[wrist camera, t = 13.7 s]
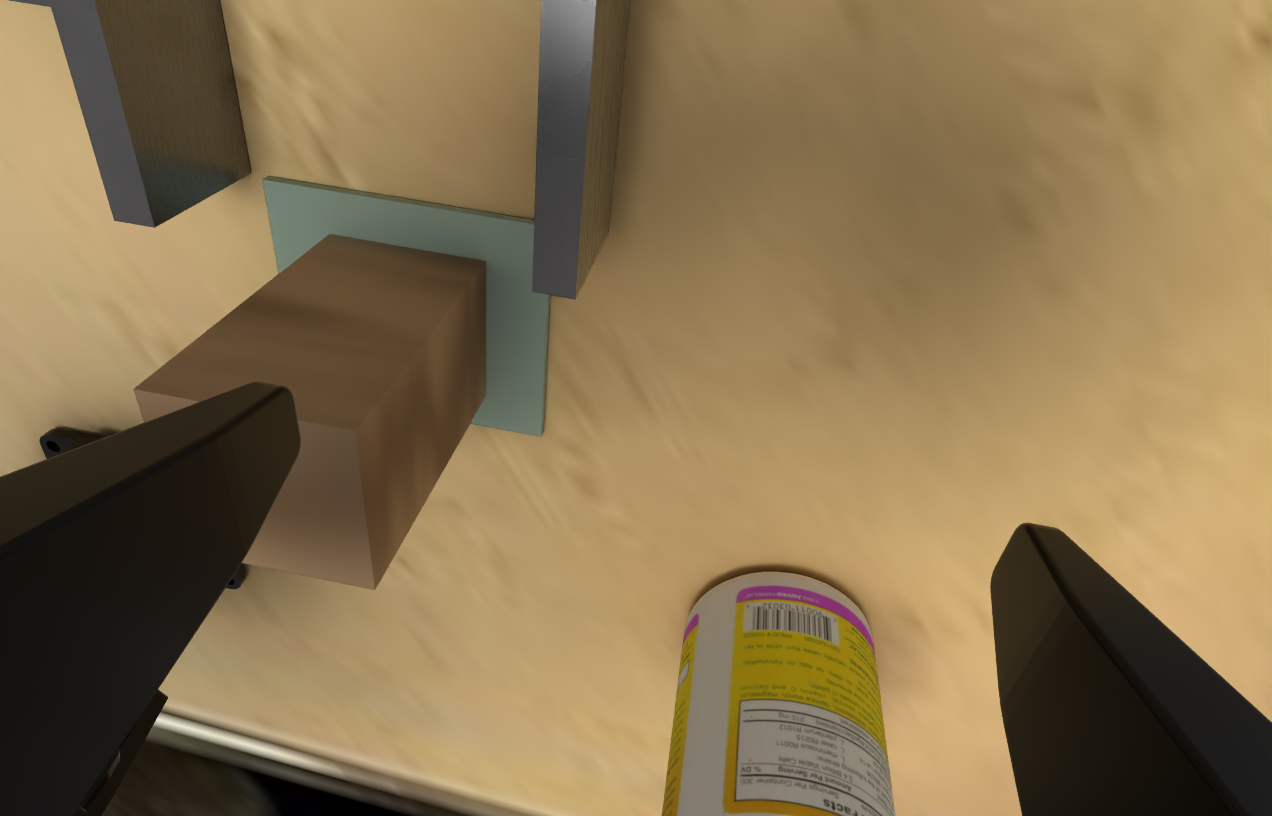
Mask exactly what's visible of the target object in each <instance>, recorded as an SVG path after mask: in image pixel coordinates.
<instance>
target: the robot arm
mask: <svg viewBox="0 0 1272 816" xmlns="http://www.w3.org/2000/svg"><path fill="white" fill-rule="evenodd" d="M40 444H41V447H42V449H43V451H44V454H45V456H46V458H47V459H46V460H44V461H41V462H38V463H36V464H33V465H30V466H28V467H25V468H22V469H20V470H17V471H14V472H12V473H9V474H6V475H4V476H1V477H0V816H101V815H102V813H103V812H104V810H105V809H106V807H107V806H108V804H109V802H110V801H111V799H112V797H113V796H114V794H115V792H116V790H117V788H118V787H119V785H120V783H121V781H122V780H123V778H124V776H125V774H126V772H127V771H128V769H129V767H130V765H131V764H132V762H133V760H134V758H135V756H136V755H137V753H138V751H139V749H140V747H141V746H142V744H143V742H144V740H145V739H146V737H147V735H148V733H149V731H150V730H151V728H152V726H153V724H154V722H155V721H156V719H157V717H158V715H159V714H160V712H161V710H162V708H163V706H164V705H165V703H166V701H167V699H168V696H166V695H165V694H164V693H162V692H161V691H160V690H158V688H159V687H160V685H161V684H162V682H163V681H164V679H165V678H166V676H167V675H168V673H169V672H170V670H171V669H172V667H173V666H174V664H175V663H176V661H177V660H178V658H179V657H180V655H181V654H182V652H183V651H184V649H185V648H186V646H187V645H188V643H189V642H190V640H191V639H192V637H193V636H194V634H195V633H196V631H197V630H198V628H199V627H200V625H201V624H202V622H203V621H204V619H205V618H206V616H207V615H208V613H209V612H210V610H211V609H212V607H213V606H214V604H215V603H216V601H217V600H218V598H219V597H220V595H221V594H222V592H223V591H224V589H225V588H229V589H237V588H239V587H240V586H241V584H242V583H243V582H244V581H245V579H246V573H245V569H244V565H243V563H242V562H243V560H244V558H245V557H246V555H247V554H248V552H249V550H250V548H251V546H252V545H253V543H254V541H255V539H256V537H257V535H258V533H259V531H260V529H261V527H262V526H263V524H264V522H265V520H266V518H267V516H268V514H269V512H270V510H271V508H272V506H273V504H274V502H275V500H276V498H277V496H278V494H279V492H280V490H281V489H282V487H283V485H284V483H285V481H286V479H287V477H288V475H289V473H290V471H291V469H292V467H293V465H294V463H295V461H296V459H297V457H298V454H299V451H300V446H301V435H300V430H299V424H298V419H297V413H296V408H295V402H294V397H293V394H292V392H291V391H290V389H289V388H287V387H286V386H283V385H277V384H272V383H266V382H260V381H256V382H252V383H249V384H246V385H243V386H241V387H238V388H236V389H233V390H230V391H228V392H225V393H222V394H220V395H217V396H214V397H212V398H209V399H206V400H204V401H201V402H198V403H196V404H193V405H190V406H188V407H185V408H182V409H180V410H177V411H174V412H172V413H169V414H166V415H164V416H161V417H158V418H156V419H153V420H150V421H148V422H145V423H142V424H140V425H137V426H134V427H132V428H129V429H126V430H124V431H121V432H118V433H116V434H113V435H110V436H108V437H105V438H102V437H96V436H91V435H86V434H81V433H75V432H70V431H65V430H60V429H52V430H49V431H48V432H47V433H46V434H44V435H43V436H42V437H41V438H40ZM990 588H991V602H992V615H993V627H994V639H995V652H996V664H997V676H998V688H999V697H1000V706H1001V711H1002V717H1003V723H1004V728H1005V733H1006V738H1007V743H1008V748H1009V753H1010V758H1011V763H1012V768H1013V772H1014V777H1015V782H1016V787H1017V792H1018V797H1019V802H1020V807H1021V812H1022V816H1272V722H1271V721H1270V720H1269V719H1267V718H1266V717H1265V716H1264V715H1263V714H1262V713H1261V712H1260V711H1259V710H1258V709H1256V708H1255V707H1254V706H1253V705H1252V704H1251V703H1250V702H1249V701H1248V700H1247V699H1246V698H1244V697H1243V696H1242V695H1241V694H1240V693H1239V692H1238V691H1237V690H1236V689H1235V688H1233V687H1232V686H1231V685H1230V684H1229V683H1228V682H1227V681H1226V680H1225V679H1224V678H1223V677H1221V676H1220V675H1219V674H1218V673H1217V672H1216V671H1215V670H1214V669H1213V668H1212V667H1210V666H1209V665H1208V664H1207V663H1206V662H1205V661H1204V660H1203V659H1202V658H1201V657H1200V656H1198V655H1197V654H1196V653H1195V652H1194V651H1193V650H1192V649H1191V648H1190V647H1189V646H1187V645H1186V644H1185V643H1184V642H1183V641H1182V640H1181V639H1180V638H1179V637H1178V636H1176V635H1175V634H1174V633H1173V632H1172V631H1171V630H1170V629H1169V628H1168V627H1167V626H1166V625H1164V624H1163V623H1162V622H1161V621H1160V620H1159V619H1158V618H1157V617H1156V616H1155V615H1153V614H1152V613H1151V612H1150V611H1149V610H1148V609H1147V608H1146V607H1145V606H1144V605H1143V604H1141V603H1140V602H1139V601H1138V600H1137V599H1136V598H1135V597H1134V596H1133V595H1132V594H1130V593H1129V592H1128V591H1127V590H1126V589H1125V588H1124V587H1123V586H1122V585H1121V584H1120V583H1118V582H1117V581H1116V580H1115V579H1114V578H1113V577H1112V576H1111V575H1110V574H1109V573H1107V572H1106V571H1105V570H1104V569H1103V568H1102V567H1101V566H1100V565H1099V564H1098V563H1097V562H1095V561H1094V560H1093V559H1092V558H1091V557H1090V556H1089V555H1088V554H1087V553H1086V552H1084V551H1083V550H1082V549H1081V548H1080V547H1079V546H1078V545H1077V544H1076V543H1075V542H1073V541H1072V540H1071V539H1070V538H1069V537H1068V536H1067V535H1066V534H1065V533H1064V532H1062V531H1061V530H1059V529H1057V528H1054V527H1049V526H1044V525H1038V524H1033V523H1023V524H1021V525H1019V526H1018V527H1017V528H1016V530H1015V531H1014V533H1013V535H1012V537H1011V538H1010V540H1009V542H1008V544H1007V546H1006V548H1005V550H1004V551H1003V553H1002V555H1001V557H1000V559H999V561H998V562H997V564H996V566H995V568H994V571H993V574H992V578H991V586H990Z"/></svg>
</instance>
